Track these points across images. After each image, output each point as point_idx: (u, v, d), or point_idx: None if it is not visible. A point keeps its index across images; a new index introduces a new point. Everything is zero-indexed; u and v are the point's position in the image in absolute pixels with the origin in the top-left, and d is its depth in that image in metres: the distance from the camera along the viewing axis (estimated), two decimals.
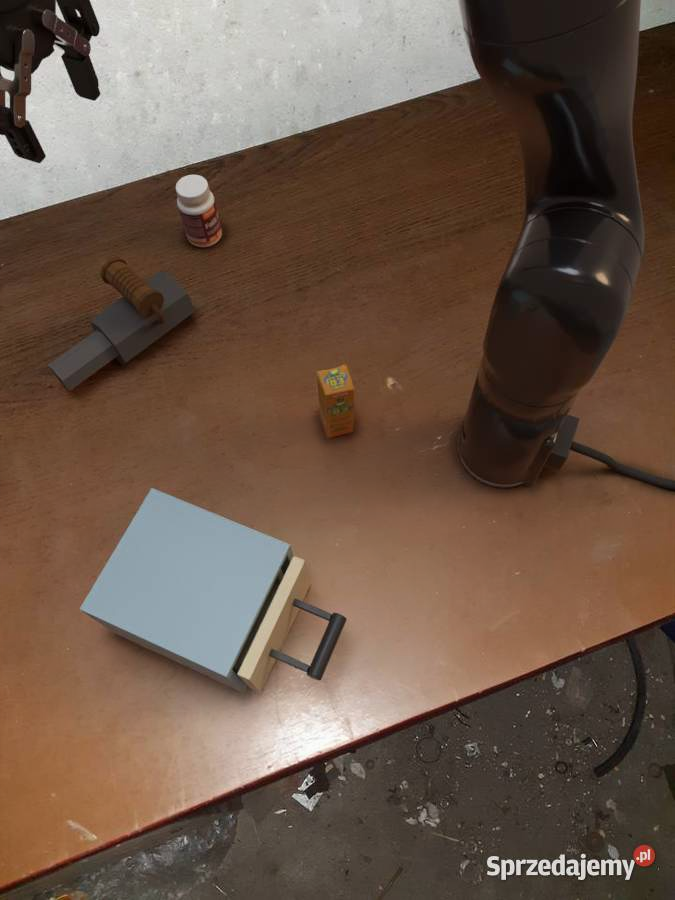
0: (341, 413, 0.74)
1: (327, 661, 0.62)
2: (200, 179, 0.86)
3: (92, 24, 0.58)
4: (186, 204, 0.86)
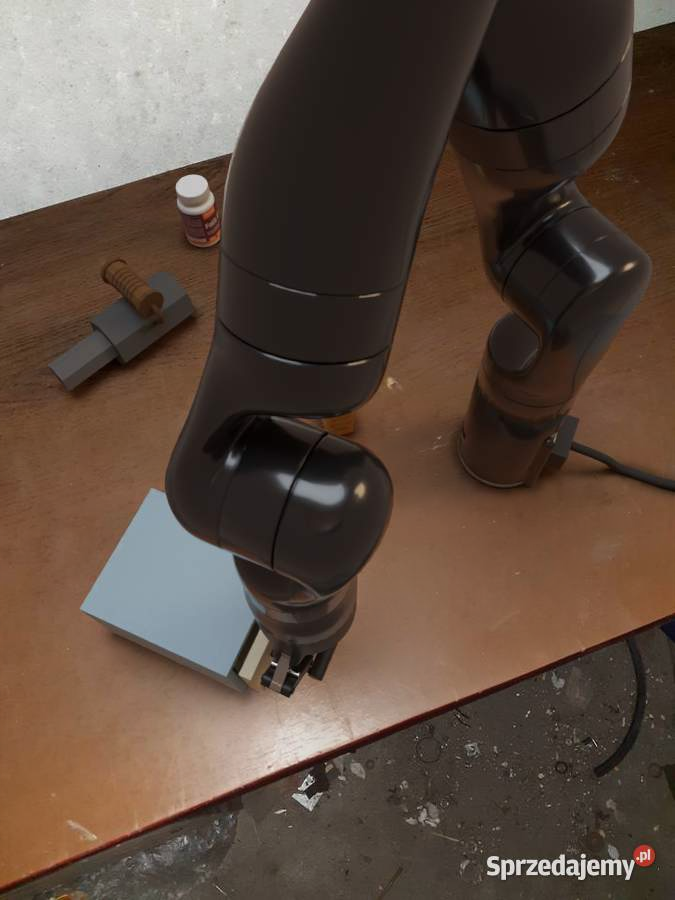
0: None
1: (328, 661, 0.62)
2: (200, 179, 0.86)
3: None
4: (186, 204, 0.86)
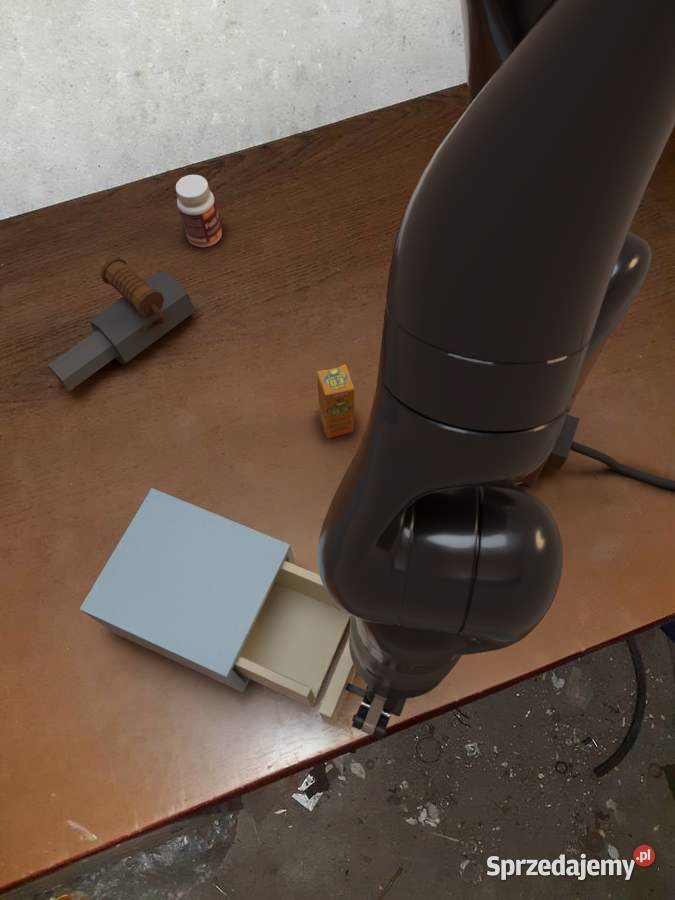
0: (340, 413, 0.74)
1: None
2: (200, 179, 0.86)
3: None
4: (186, 204, 0.86)
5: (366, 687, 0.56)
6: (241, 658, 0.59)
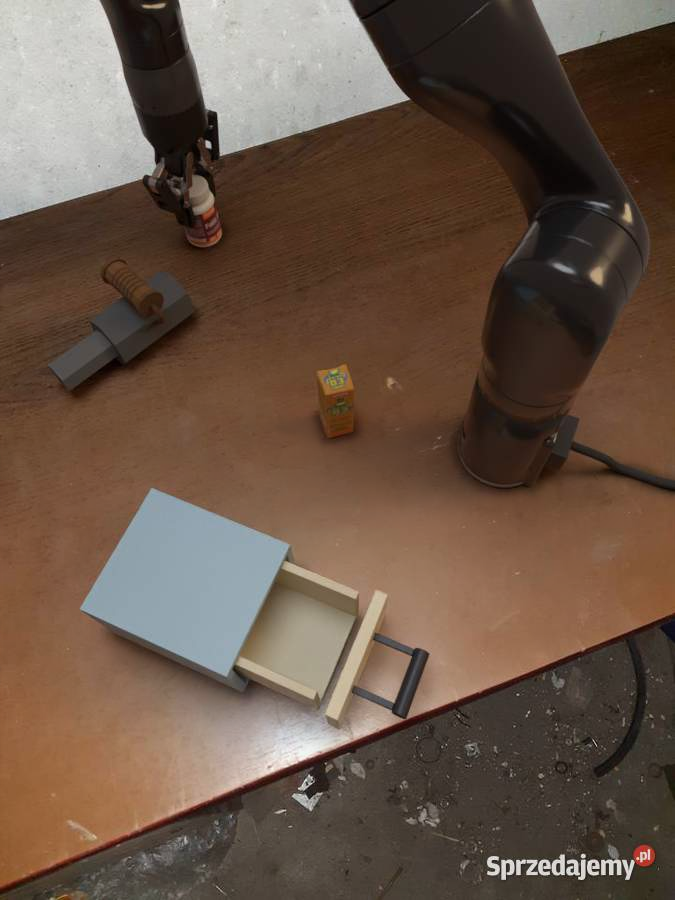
0: (340, 413, 0.74)
1: (412, 698, 0.60)
2: (200, 179, 0.86)
3: (216, 152, 0.86)
4: None
5: None
6: (247, 661, 0.59)
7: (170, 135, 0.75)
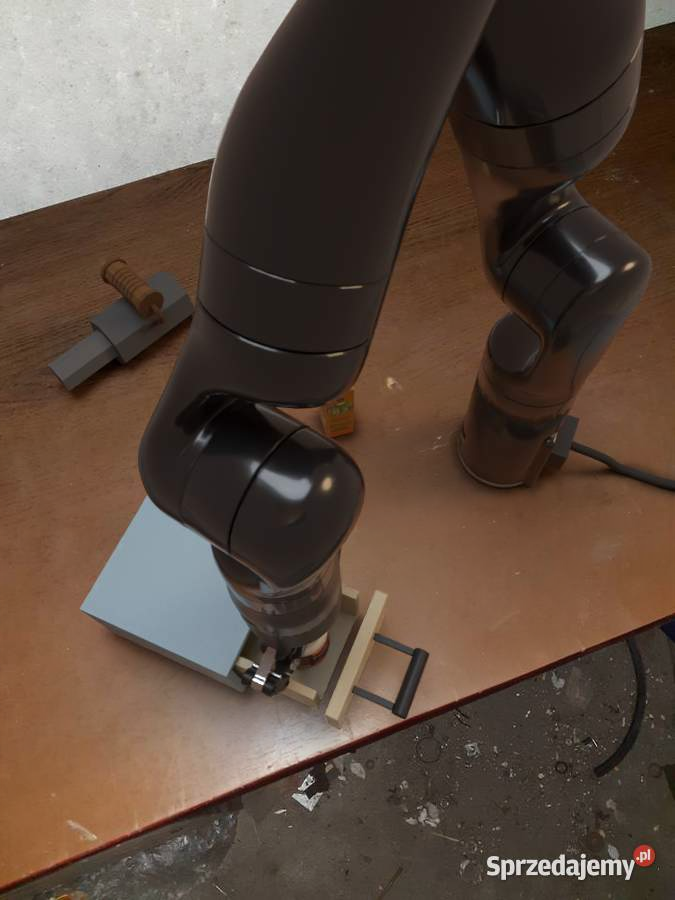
0: (340, 413, 0.74)
1: (412, 698, 0.60)
2: None
3: None
4: None
5: None
6: (247, 661, 0.59)
7: (291, 643, 0.48)
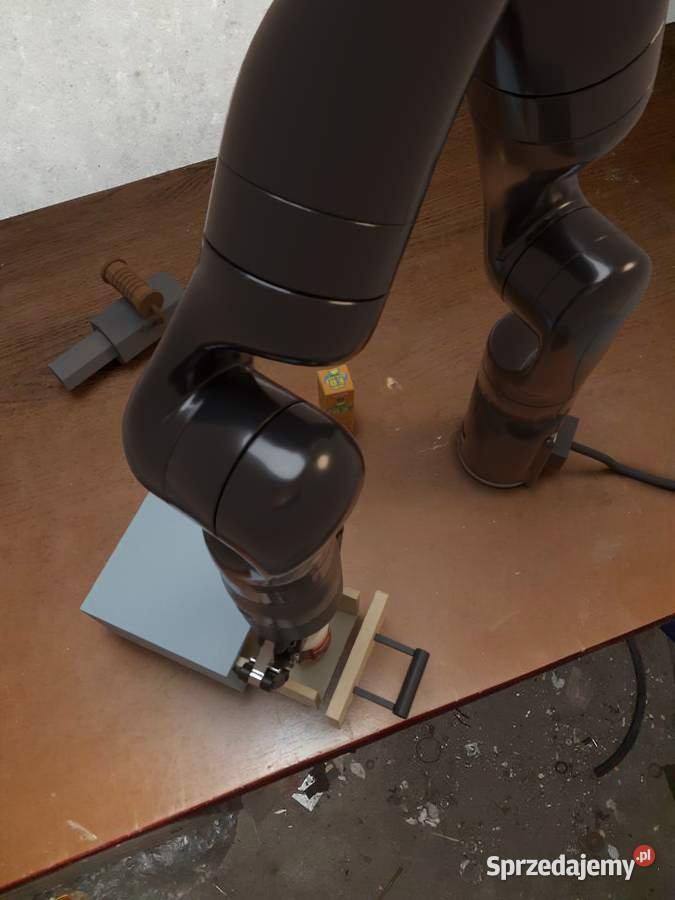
0: (340, 413, 0.74)
1: (413, 698, 0.60)
2: None
3: None
4: None
5: None
6: (247, 661, 0.59)
7: (290, 636, 0.45)
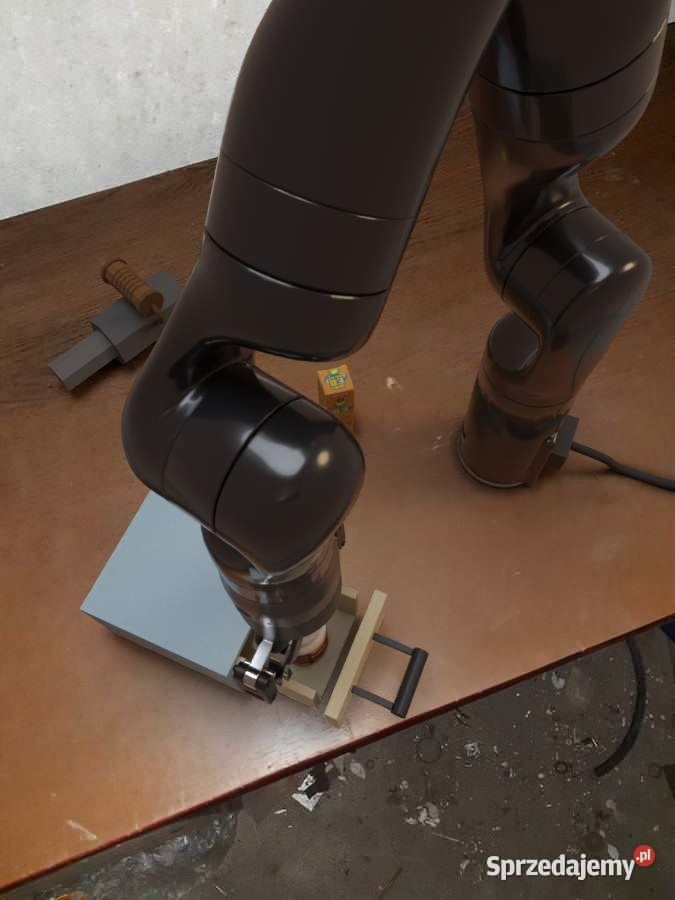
0: (341, 413, 0.74)
1: (411, 698, 0.60)
2: None
3: (342, 542, 0.56)
4: None
5: None
6: None
7: (288, 635, 0.45)
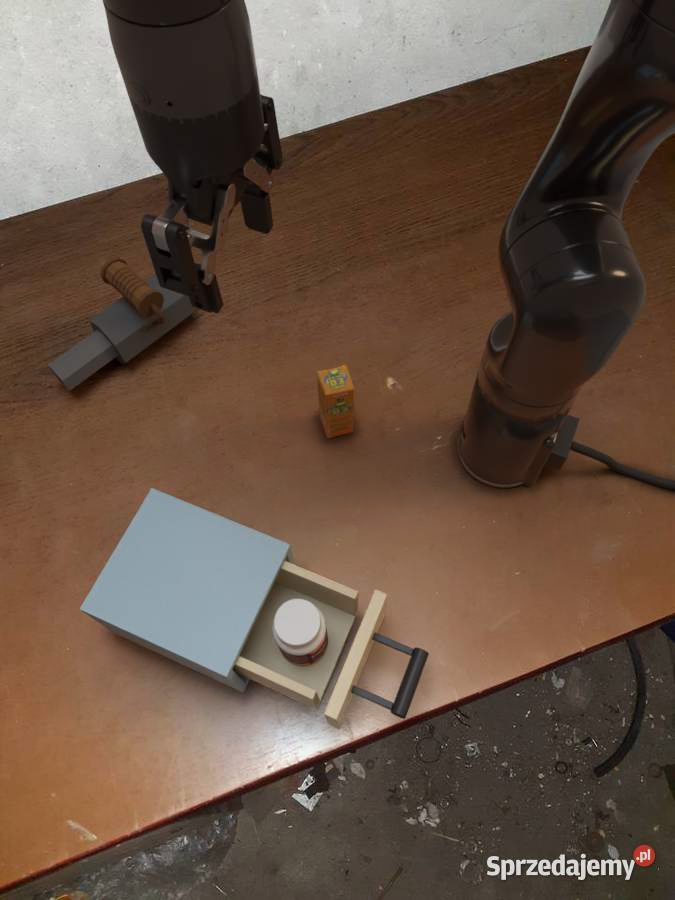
0: (340, 413, 0.74)
1: (411, 698, 0.60)
2: (309, 608, 0.59)
3: (277, 157, 0.51)
4: (289, 645, 0.59)
5: None
6: (246, 660, 0.59)
7: (199, 155, 0.40)
